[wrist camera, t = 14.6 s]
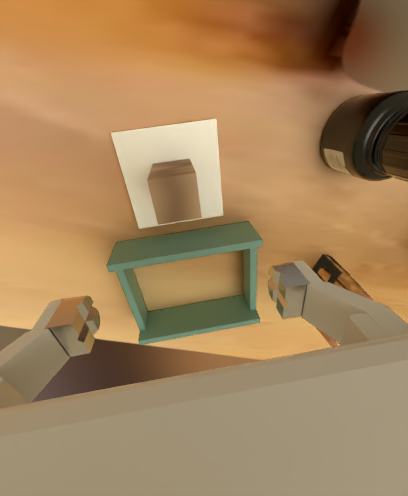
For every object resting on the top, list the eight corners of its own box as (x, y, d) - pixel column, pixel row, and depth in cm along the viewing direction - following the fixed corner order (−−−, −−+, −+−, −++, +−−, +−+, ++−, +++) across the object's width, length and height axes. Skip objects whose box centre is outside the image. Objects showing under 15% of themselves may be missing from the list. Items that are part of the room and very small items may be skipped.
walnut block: (189, 158, 27) (196, 172, 20) (194, 194, 29) (201, 217, 23) (152, 163, 27) (147, 180, 20) (160, 199, 29) (157, 224, 22)
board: (214, 118, 26) (216, 118, 25) (221, 212, 32) (223, 215, 32) (112, 132, 26) (110, 132, 25) (139, 225, 32) (139, 228, 31)
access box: (248, 220, 34) (262, 239, 29) (248, 297, 42) (259, 322, 37) (116, 242, 33) (106, 265, 28) (143, 316, 41) (140, 345, 36)
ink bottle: (306, 168, 31) (375, 194, 21) (330, 90, 26) (431, 75, 16) (368, 171, 32) (460, 198, 22) (400, 99, 28) (533, 89, 18)
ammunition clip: (300, 299, 44) (338, 354, 34) (292, 298, 44) (329, 353, 34) (331, 256, 40) (387, 305, 29) (323, 254, 39) (377, 303, 29)
